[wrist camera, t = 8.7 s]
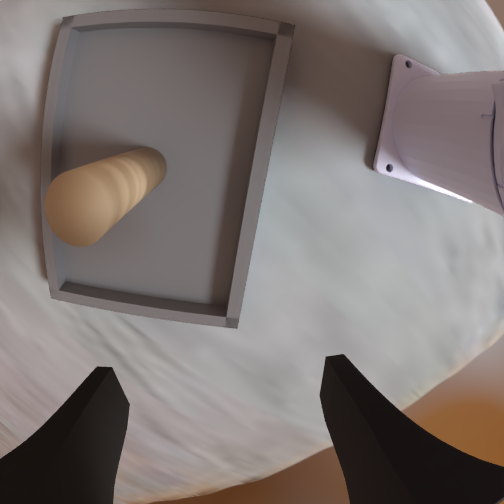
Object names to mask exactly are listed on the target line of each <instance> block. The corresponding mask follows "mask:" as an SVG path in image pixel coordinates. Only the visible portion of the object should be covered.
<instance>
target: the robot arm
mask: <svg viewBox="0 0 504 504" xmlns="http://www.w3.org/2000/svg"><path fill="white" fill-rule="evenodd" d="M405 62H407V63H408V64H409V68H408V67H406V65H405ZM388 164H389V165H390V169H389V170H388V171H387V170H386V166H387V165H388ZM373 167H374V170H375V171H376V172H378V173H380V174H383V175H387V176H390V177H393V178H397V179H400V180H403V181H407V182H410V183H413V184H416V185H419V186H423V187H426V188H429V189H432V190H435V191H438V192H440V193H443V194H446V195H449V196H452V197H455V198H457V199H460V200H463V201H465V202H468V203H473V202H475V203H477V204H479V205H481V206H483V207H485V208H487V209H489V210H491V211H494V212H496V213H498V214H499V215H501V216H503V217H504V71H482V72H466V73H454V74H444V75H442V74H440V73H438V72H436V71H434V70H433V69H431V68H429V67H427V66H425V65H423V64H421V63H419V62H417V61H415V60H413V59H411V58H409V57H406V56H404V55H402V54H398V55H395V56H394V57H393V61H392V68H391V75H390V82H389V88H388V94H387V100H386V105H385V111H384V116H383V121H382V126H381V131H380V136H379V141H378V146H377V150H376V155H375V159H374V164H373ZM320 399H321V404H322V409H323V414H324V418H325V422H326V425H327V428H328V431H329V433H330V436H331V439H332V442H333V445H334V448H335V450H336V453H337V456H338V459H339V462H340V464H341V467H342V470H343V474H344V477H345V481H346V485H347V490H348V495H349V500H350V504H499V503H500V502H502V501H503V500H504V467H502V466H499V465H496V464H492V463H489V462H486V461H483V460H480V459H478V458H476V457H473V456H471V455H469V454H466V453H464V452H462V451H460V450H458V449H456V448H454V447H453V446H451V445H449V444H447V443H445V442H443V441H441V440H440V439H438V438H437V437H435V436H433V435H432V434H430V433H429V432H427V431H426V430H424V429H423V428H421V427H420V426H419V425H417V424H416V423H415V422H413V421H412V420H411V419H410V418H408V417H407V416H406V415H405V414H403V413H402V412H401V411H400V410H399V409H397V408H396V407H395V406H394V405H393V404H392V403H391V402H390V401H389V400H387V399H386V398H385V397H384V396H383V395H382V394H381V393H380V392H379V391H378V390H377V389H376V388H375V387H374V386H373V385H372V384H371V383H370V382H369V381H368V380H367V379H366V378H365V377H364V376H363V375H362V373H361V372H360V371H359V370H358V369H357V368H356V367H355V366H354V365H353V364H352V363H351V361H350V360H349V359H348V358H347V357H346V356H345V355H344V354H341V355H334V356H328V357H326V359H325V366H324V372H323V378H322V384H321V390H320ZM129 406H130V404H129V402H128V400H127V398H126V396H125V394H124V392H123V390H122V387H121V385H120V383H119V381H118V379H117V377H116V375H115V372H114V370H113V368H112V367H98V366H97V367H96V368H95V369H94V370H93V371H92V373H91V374H90V375H89V376H88V377H87V378H86V379H85V380H84V381H83V383H82V384H81V385H80V386H79V387H78V388H77V389H76V391H75V392H74V393H73V394H72V395H71V396H70V397H69V398H68V399H67V401H66V402H65V403H64V404H63V405H62V406H61V407H60V408H59V409H58V410H57V411H56V412H55V413H54V414H53V415H52V416H51V417H50V418H49V419H48V421H47V422H46V423H45V424H44V425H43V426H42V427H40V428H39V429H38V430H37V431H36V432H35V433H34V434H33V435H32V436H30V437H29V438H28V439H27V440H26V441H24V442H23V443H22V444H21V445H19V446H18V447H17V448H15V449H14V450H12V451H11V452H9V453H8V454H7V455H5V456H4V457H2V458H1V459H0V504H113V496H114V485H115V479H116V474H117V469H118V465H119V460H120V456H121V452H122V448H123V443H124V439H125V435H126V431H127V424H128V415H129Z"/></svg>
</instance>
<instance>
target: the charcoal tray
mask: <svg viewBox="0 0 504 504" xmlns="http://www.w3.org/2000/svg"><path fill="white" fill-rule="evenodd" d="M294 29H295V25H292V24H288V23H283V22H278V21H274V20H269V19H263V18H257V17H252V16H245V15H238V14H231V13H222V12H212V11H200V10H183V9H135V10H118V11H106V12H97V13H89V14H81V15H75V16H69V17H63V20H62V23H61V27H60V31H59V34H58V38H57V42H56V47H55V51H54V56H53V60H52V65H51V70H50V76H49V82H48V88H47V95H46V102H45V110H44V119H43V130H42V144H41V170H40V193H41V219H42V233H43V245H44V254H45V263H46V270H47V277H48V284H49V290H50V296H51V298H52V299H56V300H60V301H65V302H70V303H74V304H79V305H84V306H89V307H94V308H99V309H104V310H110V311H115V312H121V313H126V314H132V315H138V316H144V317H151V318H157V319H164V320H171V321H178V322H185V323H193V324H201V325H209V326H218V327H227V328H236V329H237V328H238V323H239V317H240V312H241V307H242V302H243V296H244V291H245V286H246V281H247V275H248V270H249V265H250V260H251V254H252V249H253V244H254V239H255V233H256V228H257V223H258V218H259V212H260V207H261V202H262V197H263V191H264V186H265V181H266V176H267V170H268V165H269V160H270V155H271V149H272V144H273V139H274V134H275V128H276V123H277V118H278V113H279V107H280V102H281V97H282V92H283V86H284V81H285V76H286V71H287V65H288V60H289V55H290V50H291V44H292V39H293V34H294ZM143 147H151V148H154V149H156V150H158V151H159V152H160V153H161V154H162V155H163V156H164V158H165V160H166V164H167V172H166V176H165V178H164V180H163V181H162V182H161V183H160V184H159V185H158V186H157V187H156V188H155V189H153V190H152V191H151V192H150V193H149V194H148V195H147V196H145V197H144V198H143V199H142V200H141V201H140V202H139V203H137V204H136V205H135V206H134V207H133V208H132V209H131V210H130V211H129V212H128V213H126V214H125V215H124V216H123V217H122V218H121V219H120V220H119V221H118V222H117V223H116V224H115V225H114V226H113V227H111V228H110V229H109V230H108V231H107V232H106V233H105V234H104V235H103V236H102V237H101V238H100V239H99V240H98V241H97V242H95V243H93V244H92V245H89V246H85V247H76V246H72V245H69V244H67V243H65V242H64V241H62V240H61V239H60V238H59V237H57V235H56V234H55V233H54V232H53V230H52V229H51V227H50V225H49V223H48V221H47V218H46V213H45V197H46V193H47V190H48V188H49V186H50V184H51V183H52V181H53V180H54V179H55V178H56V177H57V176H59V175H60V174H62V173H64V172H67V171H69V170H72V169H75V168H78V167H81V166H84V165H87V164H90V163H93V162H96V161H99V160H102V159H105V158H108V157H112V156H115V155H118V154H122V153H125V152H128V151H132V150H136V149H139V148H143Z"/></svg>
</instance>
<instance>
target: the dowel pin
mask: <svg viewBox="0 0 504 504" xmlns="http://www.w3.org/2000/svg"><path fill="white" fill-rule="evenodd" d="M166 172H167V164H166V160H165V158H164V156H163V155H162V154H161V153H160V152H159V151H158V150H156V149H154V148H151V147H143V148H139V149H136V150H132V151H128V152H125V153H122V154H118V155H115V156H112V157H108V158H105V159H102V160H99V161H96V162H93V163H90V164H87V165H84V166H81V167H78V168H75V169H72V170H69V171H67V172H64V173H62V174H60V175H59V176H57V177H56V178H55V179H54V180H53V181H52V183H51V184H50V186H49V188H48V190H47V193H46V197H45V213H46V218H47V221H48V223H49V225H50V227H51V229H52V230H53V232H54V233H55V234H56V235H57V237H59V238H60V239H61V240H62V241H64V242H65V243H67V244H69V245H72V246H76V247H85V246H89V245H92V244H93V243H95V242H97V241H98V240H99V239H100V238H101V237H102V236H103V235H104V234H105V233H106V232H107V231H108V230H109V229H110V228H111V227H113V226H114V225H115V224H116V223H117V222H118V221H119V220H120V219H121V218H122V217H123V216H124V215H125V214H126V213H128V212H129V211H130V210H131V209H132V208H133V207H134V206H135V205H136V204H137V203H139V202H140V201H141V200H142V199H143V198H144V197H145V196H147V195H148V194H149V193H150V192H151V191H152V190H153V189H155V188H156V187H157V186H158V185H159V184H160V183H161V182H162V181H163V180H164V178H165V176H166Z"/></svg>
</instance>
